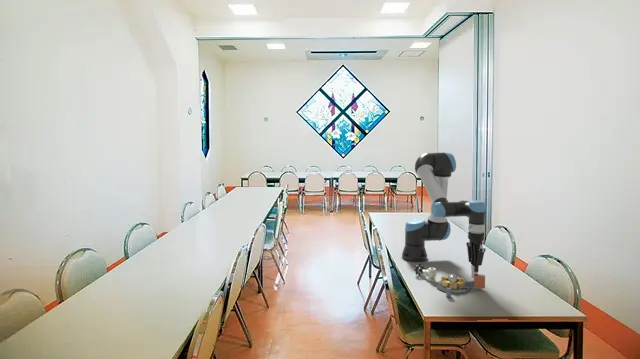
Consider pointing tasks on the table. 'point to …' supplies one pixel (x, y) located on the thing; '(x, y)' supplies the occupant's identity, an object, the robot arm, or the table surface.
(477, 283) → the tan and copper piece
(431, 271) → the valve
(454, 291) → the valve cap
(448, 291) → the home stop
